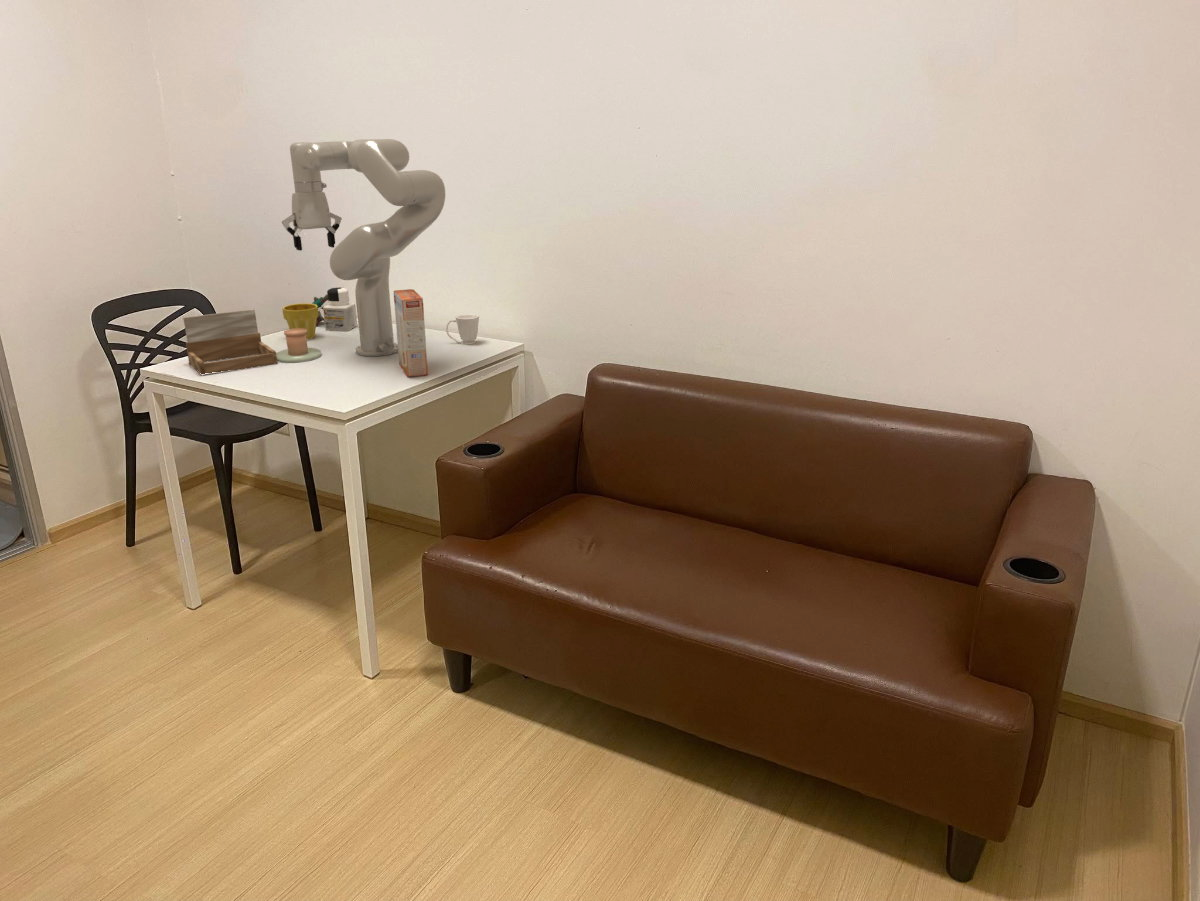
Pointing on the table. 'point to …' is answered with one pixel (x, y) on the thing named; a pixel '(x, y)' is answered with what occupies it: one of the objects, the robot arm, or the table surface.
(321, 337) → the table surface
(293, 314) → the plant pot
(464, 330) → the cup
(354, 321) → the container
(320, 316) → the binoculars
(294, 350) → the clay pot
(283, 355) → the pale green disc
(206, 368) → the wooden drawer
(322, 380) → the table surface
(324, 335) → the table surface
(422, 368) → the cracker box
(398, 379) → the table surface
